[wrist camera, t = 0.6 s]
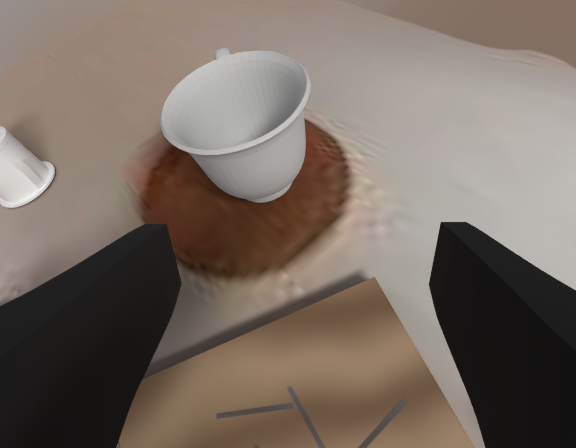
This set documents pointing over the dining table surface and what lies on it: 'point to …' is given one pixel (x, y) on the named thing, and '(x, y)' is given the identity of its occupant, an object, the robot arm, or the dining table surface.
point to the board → (301, 386)
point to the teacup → (242, 121)
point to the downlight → (21, 172)
